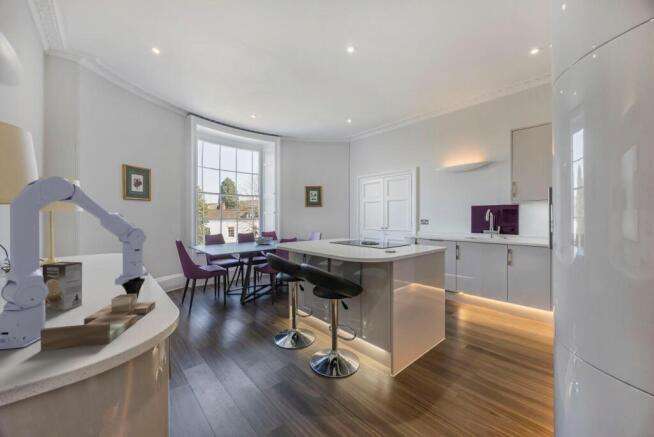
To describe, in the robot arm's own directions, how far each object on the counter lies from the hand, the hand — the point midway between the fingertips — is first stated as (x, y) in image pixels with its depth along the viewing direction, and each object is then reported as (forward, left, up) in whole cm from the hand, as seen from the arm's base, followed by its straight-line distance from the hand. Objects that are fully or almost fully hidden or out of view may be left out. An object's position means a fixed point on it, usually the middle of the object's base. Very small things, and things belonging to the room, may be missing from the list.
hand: (133, 300), depth 91 cm
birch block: (-6, 0, -1) cm, 6 cm away
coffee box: (+8, +26, -3) cm, 27 cm away
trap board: (-14, 0, -3) cm, 14 cm away
